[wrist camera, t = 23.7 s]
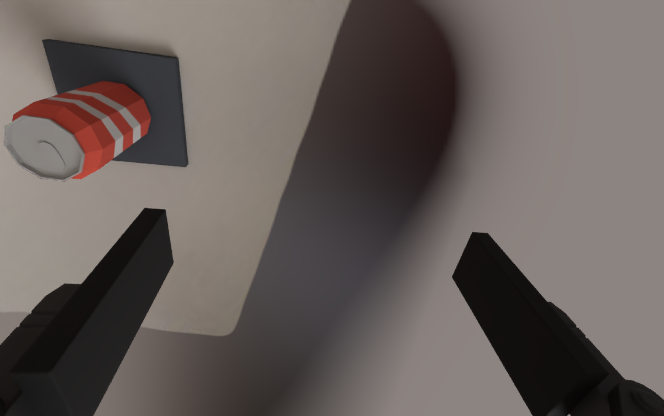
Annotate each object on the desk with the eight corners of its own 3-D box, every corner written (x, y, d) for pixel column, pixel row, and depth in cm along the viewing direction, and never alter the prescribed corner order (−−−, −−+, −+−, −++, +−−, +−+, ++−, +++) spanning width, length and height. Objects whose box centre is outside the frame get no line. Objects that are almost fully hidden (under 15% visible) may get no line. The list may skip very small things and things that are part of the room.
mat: (178, 57, 32) (175, 58, 32) (188, 164, 38) (185, 167, 38) (48, 39, 31) (41, 39, 30) (80, 153, 37) (75, 157, 36)
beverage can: (108, 143, 35) (31, 193, 25) (77, 84, 32) (-27, 114, 22) (162, 135, 35) (106, 181, 25) (136, 75, 32) (60, 100, 22)
